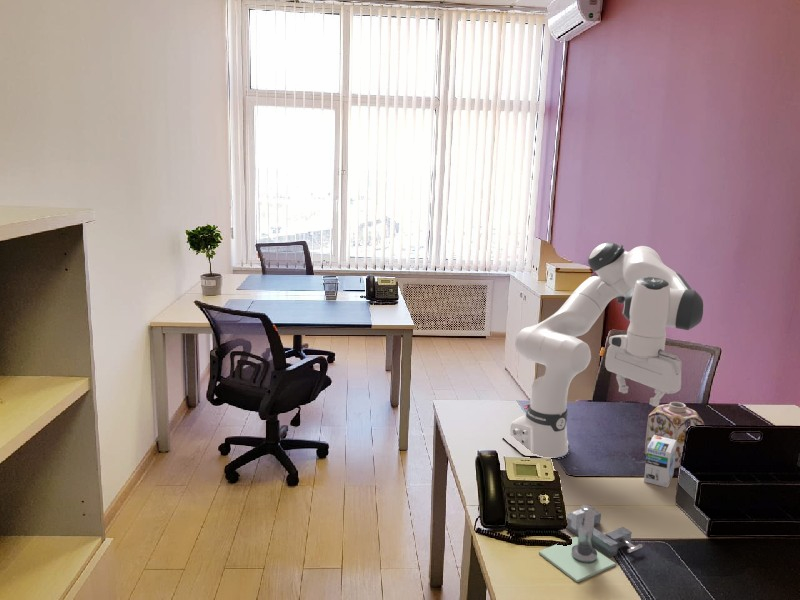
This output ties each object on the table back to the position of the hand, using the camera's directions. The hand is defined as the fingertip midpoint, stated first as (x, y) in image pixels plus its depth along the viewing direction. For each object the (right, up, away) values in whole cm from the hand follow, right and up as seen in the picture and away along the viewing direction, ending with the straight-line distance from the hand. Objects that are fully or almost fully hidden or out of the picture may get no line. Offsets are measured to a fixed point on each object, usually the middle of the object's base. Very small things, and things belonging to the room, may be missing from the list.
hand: (638, 398), depth 153 cm
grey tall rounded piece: (-16, -35, -10) cm, 40 cm away
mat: (-18, -35, -11) cm, 41 cm away
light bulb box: (+17, -28, +28) cm, 43 cm away
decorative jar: (+26, -25, +40) cm, 54 cm away
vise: (-10, -34, -2) cm, 35 cm away
